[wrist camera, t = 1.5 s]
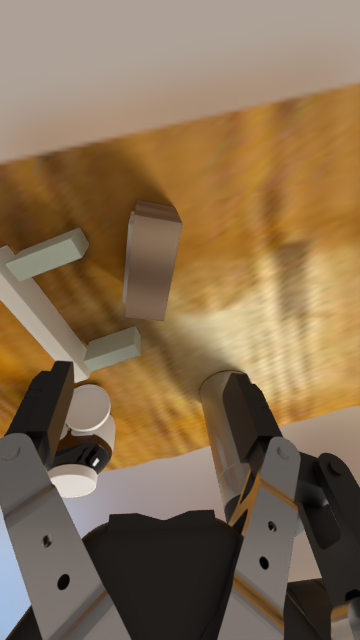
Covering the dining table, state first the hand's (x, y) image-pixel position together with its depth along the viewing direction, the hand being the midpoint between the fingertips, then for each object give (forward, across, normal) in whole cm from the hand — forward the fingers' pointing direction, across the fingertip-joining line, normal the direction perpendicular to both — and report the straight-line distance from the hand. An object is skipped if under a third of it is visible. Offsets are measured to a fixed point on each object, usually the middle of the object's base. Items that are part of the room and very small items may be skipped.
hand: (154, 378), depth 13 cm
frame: (+20, 0, 0) cm, 20 cm away
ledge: (+20, +8, +8) cm, 23 cm away
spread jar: (+20, +7, +29) cm, 36 cm away
